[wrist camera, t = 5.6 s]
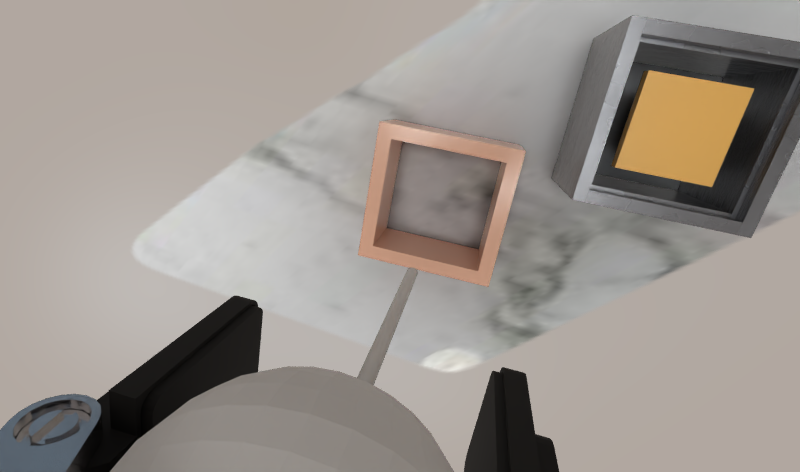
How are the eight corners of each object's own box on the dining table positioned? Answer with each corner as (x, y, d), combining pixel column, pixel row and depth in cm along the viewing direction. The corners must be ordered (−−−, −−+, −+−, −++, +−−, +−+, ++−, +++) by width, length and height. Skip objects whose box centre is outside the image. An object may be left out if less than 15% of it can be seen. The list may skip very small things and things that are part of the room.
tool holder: (519, 144, 32) (526, 151, 27) (487, 262, 35) (488, 286, 31) (393, 119, 33) (379, 121, 29) (373, 236, 37) (358, 255, 32)
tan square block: (718, 91, 27) (754, 88, 23) (682, 176, 28) (711, 187, 25) (627, 74, 27) (648, 70, 24) (598, 160, 29) (614, 167, 26)
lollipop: (375, 349, 19) (76, 1025, 5) (319, 234, 18) (-270, 697, 4) (507, 312, 17) (607, 1182, 3) (455, 181, 16) (270, 672, 2)
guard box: (745, 64, 28) (842, 48, 21) (686, 206, 31) (751, 237, 24) (593, 38, 29) (632, 15, 22) (551, 178, 32) (572, 199, 25)
